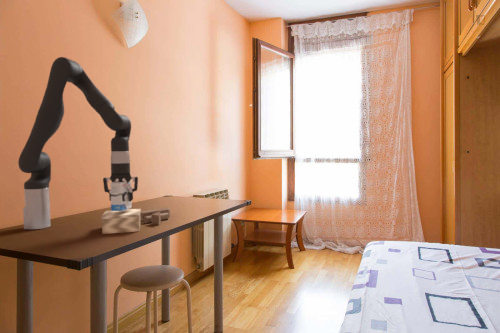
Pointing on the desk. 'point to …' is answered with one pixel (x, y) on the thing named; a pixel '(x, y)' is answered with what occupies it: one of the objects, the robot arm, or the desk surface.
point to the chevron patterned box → (121, 221)
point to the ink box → (120, 196)
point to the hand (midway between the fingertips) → (121, 201)
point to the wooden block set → (155, 215)
